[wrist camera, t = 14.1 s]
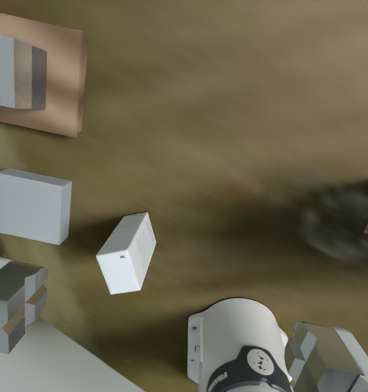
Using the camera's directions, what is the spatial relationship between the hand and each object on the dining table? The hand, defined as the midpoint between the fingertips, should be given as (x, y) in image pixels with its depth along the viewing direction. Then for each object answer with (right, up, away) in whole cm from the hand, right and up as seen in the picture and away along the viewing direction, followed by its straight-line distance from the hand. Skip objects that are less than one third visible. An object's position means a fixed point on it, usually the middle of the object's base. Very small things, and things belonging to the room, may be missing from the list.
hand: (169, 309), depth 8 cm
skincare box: (-7, -2, +34) cm, 35 cm away
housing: (-20, +19, +25) cm, 37 cm away
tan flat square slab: (-19, +20, +27) cm, 39 cm away
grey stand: (-23, +2, +33) cm, 41 cm away
